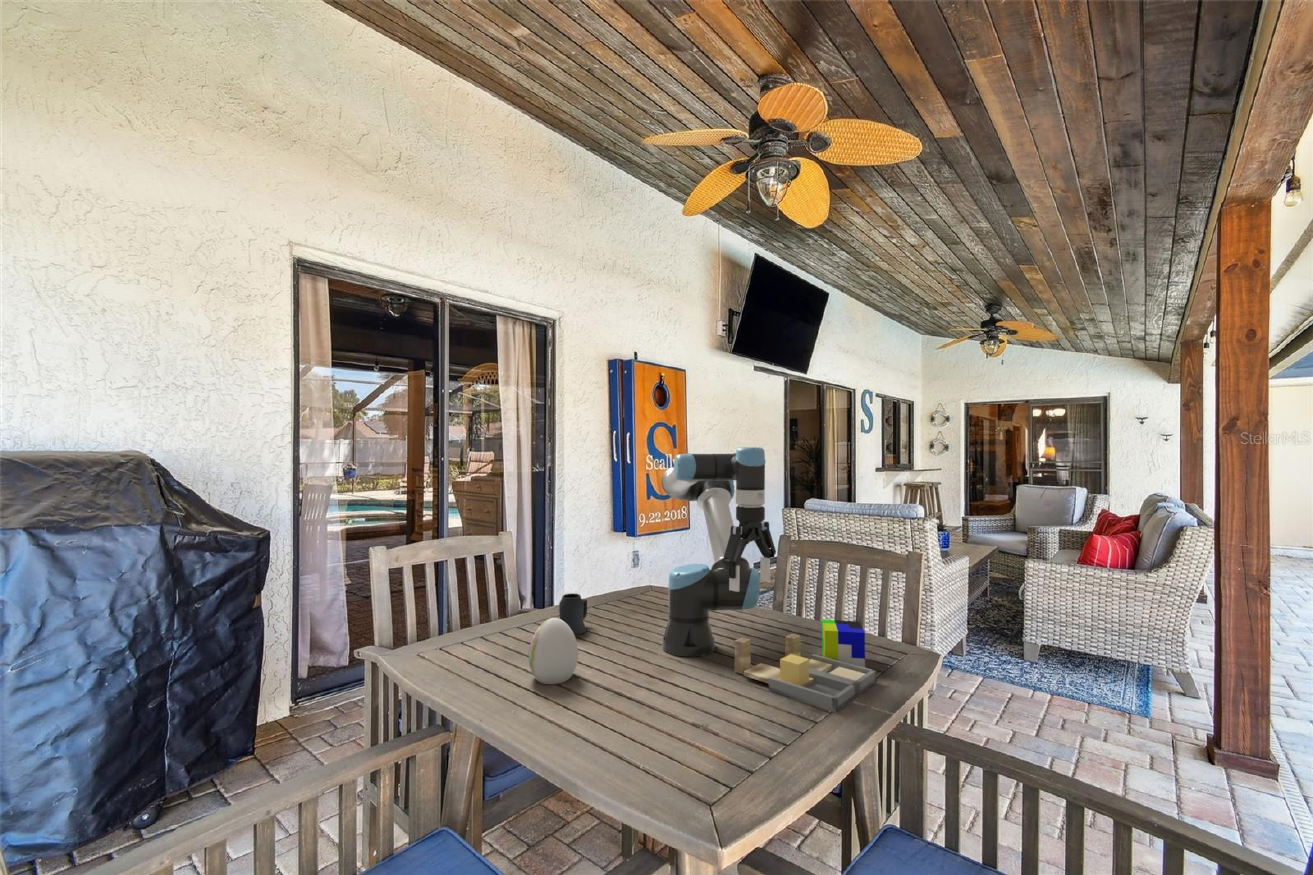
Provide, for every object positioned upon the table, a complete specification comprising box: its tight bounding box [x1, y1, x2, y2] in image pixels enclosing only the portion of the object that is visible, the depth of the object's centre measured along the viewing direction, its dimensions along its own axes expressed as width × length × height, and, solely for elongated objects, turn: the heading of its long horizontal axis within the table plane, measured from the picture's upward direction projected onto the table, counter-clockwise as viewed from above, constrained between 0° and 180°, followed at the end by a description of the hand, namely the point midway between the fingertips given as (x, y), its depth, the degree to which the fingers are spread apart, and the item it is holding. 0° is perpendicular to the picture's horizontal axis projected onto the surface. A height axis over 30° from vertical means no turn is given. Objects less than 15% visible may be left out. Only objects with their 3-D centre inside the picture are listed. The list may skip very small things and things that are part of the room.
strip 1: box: [734, 636, 814, 687], centre depth 146 cm, size 19×8×8 cm, turn 47°
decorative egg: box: [528, 617, 579, 685], centre depth 148 cm, size 12×12×15 cm
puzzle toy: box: [821, 619, 866, 668], centre depth 159 cm, size 10×10×10 cm
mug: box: [558, 592, 588, 637], centre depth 187 cm, size 12×9×11 cm
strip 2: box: [784, 633, 832, 672], centre depth 152 cm, size 10×8×8 cm
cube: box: [779, 654, 810, 686], centre depth 142 cm, size 5×5×5 cm
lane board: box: [768, 653, 877, 713], centre depth 143 cm, size 17×22×3 cm
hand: (750, 586), depth 156 cm, fingers open, 13 cm apart
